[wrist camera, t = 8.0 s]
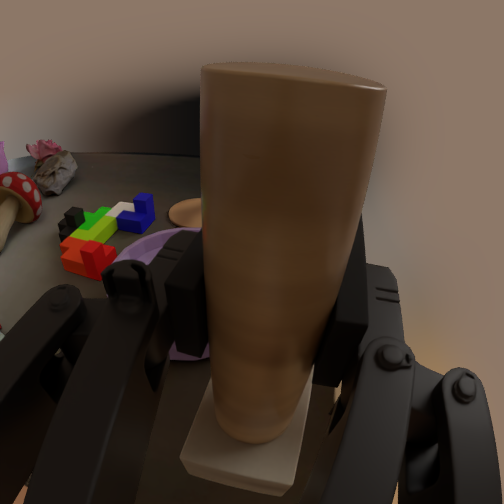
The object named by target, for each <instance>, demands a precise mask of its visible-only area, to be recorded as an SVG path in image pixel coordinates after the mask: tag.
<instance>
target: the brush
mask: <svg viewBox="0 0 504 504" xmlns="http://www.w3.org/2000/svg"><path fill="white" fill-rule="evenodd" d="M200 86H201V87H200V90H201V91H200V172H201V213H202V241H203V263H204V282H205V299H206V315H207V329H208V342H209V355H210V367H211V378H210V381H209V383H208V386H207V388H206V391H205V393H204V396H203V399H202V401H201V404H200V406H199V409H198V411H197V414H196V416H195V419H194V421H193V424H192V426H191V429H190V431H189V434H188V437H187V439H186V442H185V444H184V447H183V449H182V452H181V454H180V459H181V461H182V463H183V465H184V467H185V468H186V470H187V472H188V473H189V474H191V475H194V476H197V477H200V478H204V479H207V480H210V481H214V482H218V483H221V484H225V485H229V486H233V487H237V488H241V489H245V490H250V491H254V492H259V493H264V494H269V495H275V496H282V495H283V494H284V493H285V492H286V491H287V490H288V489H289V488H290V487H291V486H292V485H293V482H294V477H295V473H296V468H297V464H298V459H299V454H300V449H301V444H302V439H303V434H304V429H305V423H306V418H307V412H308V406H309V400H310V394H311V388H312V383H311V382H312V376H313V369H314V363H315V360H316V357H317V354H318V351H319V349H320V346H321V343H322V340H323V337H324V335H325V332H326V329H327V326H328V323H329V320H330V317H331V314H332V311H333V308H334V305H335V302H336V299H337V296H338V293H339V290H340V286H341V283H342V280H343V277H344V273H345V270H346V267H347V263H348V260H349V256H350V253H351V249H352V246H353V242H354V239H355V235H356V231H357V228H358V224H359V220H360V216H361V212H362V208H363V204H364V200H365V196H366V192H367V188H368V183H369V179H370V175H371V170H372V166H373V161H374V156H375V152H376V147H377V142H378V137H379V132H380V127H381V122H382V116H383V111H384V105H385V99H386V92H387V89H386V87H385V86H384V85H382V84H380V83H378V82H375V81H372V80H369V79H365V78H362V77H358V76H354V75H350V74H345V73H340V72H336V71H330V70H325V69H319V68H312V67H305V66H296V65H286V64H275V63H255V62H254V63H253V62H229V63H213V64H207V65H205V66H203V67H202V68H201V83H200Z"/></svg>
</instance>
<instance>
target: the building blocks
mask: <svg viewBox="0 0 504 504" xmlns="http://www.w3.org/2000/svg"><path fill="white" fill-rule="evenodd" d="M133 202H134V204H132V203H126V202H119V203H118V204H117V205H116V206H114V207H113V208H107V207H101V208H100V209H99V210H97V211H96V212H95V213H89V212H83V208H77V207H72V208H70V209H69V210H68V211H67V212H66V213H64V216H65V218H64V219H62V220H61V221H60V222H59V223H58V227H59V230H60V233H59V237H60V240H61V244H60V248H61V251H62V254H63V255H62V256H61V257H60V258H61V260H62V263H63V266H64V269H65V270H66V271H69V272H73V273H76V274H79V275H82V276H85V277H89V278H92V279H95V280H98V281H101V280H102V277H101V274H100V273H101V272H102V271H103V270H104V269H105V268H106V267H107V266H109V265H111V264H112V262H113V261H114V260H115V259H116V258H117V254H116V250H115V247H112V246H108V245H104V243H105V242H106V241H107V240H108V239H109V238H110V237H111V236H112V235H113V234H114V233H115V231H116V230H117V229H118V230H123V231H129V232H134V233H139V234H143V233H144V231H145V230H146V229H147V228H148V227H149V226H150V224H151V223H152V222H153V221H154V220H155V212H154V204H153V195H152V194H147V193H139V194H138V195H137V196H136V197H135V198H134V199H133Z"/></svg>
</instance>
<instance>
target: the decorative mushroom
mask: <svg viewBox="0 0 504 504" xmlns="http://www.w3.org/2000/svg"><path fill="white" fill-rule="evenodd" d="M41 211H42V201H41V195H40V192H39V190H38V188H37V186H36V184H35V183H34V182H33V181H32V180H31V179H30V178H29V177H27V176H26V175H24V174H22V173H19V172H6V173H3V174H0V253H1V252H2V249H3V247H4V245H5V242H6V238H7V235H8V232H9V230H10V228H11V226H12V225H13V223H14V221H17V222H20V223H31V222H33V221H36V220H37V219H38V218H39V216H40V214H41Z"/></svg>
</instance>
